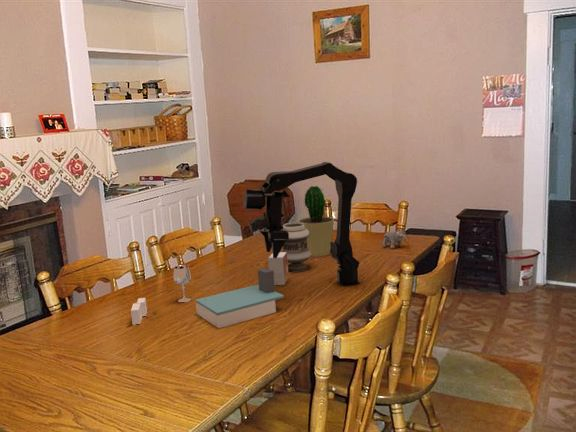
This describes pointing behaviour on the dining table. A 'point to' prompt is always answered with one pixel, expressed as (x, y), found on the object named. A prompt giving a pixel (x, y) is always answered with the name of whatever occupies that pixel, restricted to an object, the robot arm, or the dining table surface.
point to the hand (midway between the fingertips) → (271, 254)
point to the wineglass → (182, 279)
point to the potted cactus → (317, 223)
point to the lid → (243, 295)
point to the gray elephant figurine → (394, 238)
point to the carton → (236, 314)
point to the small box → (279, 268)
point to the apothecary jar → (296, 246)
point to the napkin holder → (138, 311)
